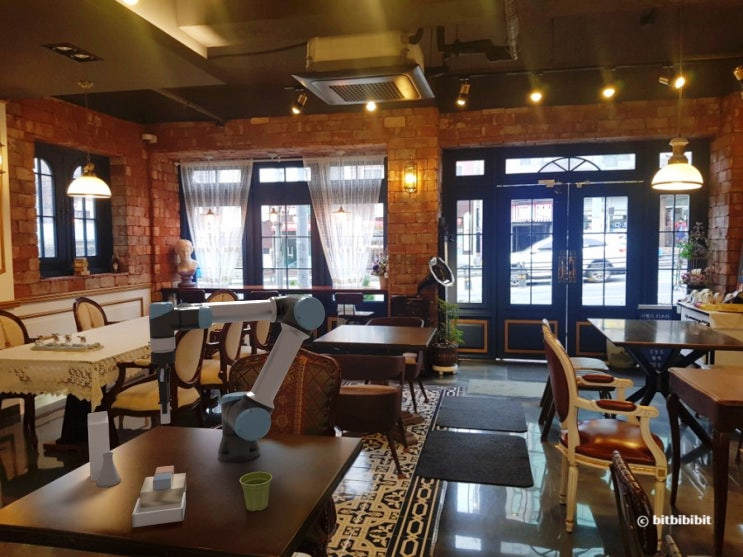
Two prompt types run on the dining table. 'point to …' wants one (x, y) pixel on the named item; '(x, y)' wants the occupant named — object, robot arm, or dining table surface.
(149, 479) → the cream square tray
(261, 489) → the plant pot
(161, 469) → the terracotta tile
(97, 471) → the milk
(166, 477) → the slate tile
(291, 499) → the dining table surface
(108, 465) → the flask
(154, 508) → the box
